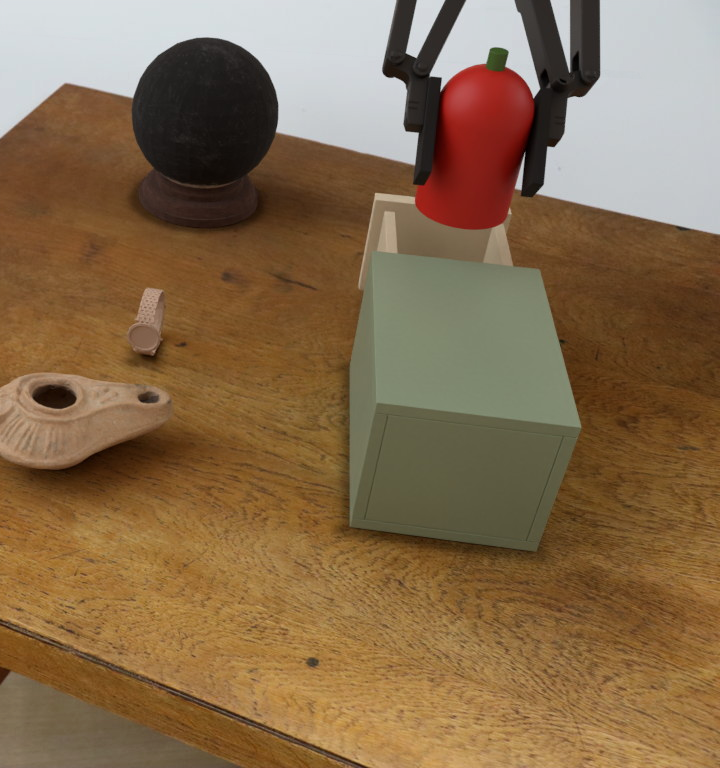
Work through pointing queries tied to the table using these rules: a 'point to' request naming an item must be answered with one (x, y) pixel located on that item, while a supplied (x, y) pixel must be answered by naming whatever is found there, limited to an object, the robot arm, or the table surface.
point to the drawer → (429, 236)
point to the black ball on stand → (203, 131)
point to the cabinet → (457, 402)
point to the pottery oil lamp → (74, 417)
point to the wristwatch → (148, 322)
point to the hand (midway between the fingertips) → (476, 184)
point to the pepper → (478, 145)
